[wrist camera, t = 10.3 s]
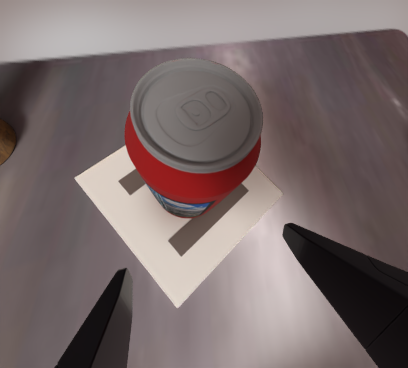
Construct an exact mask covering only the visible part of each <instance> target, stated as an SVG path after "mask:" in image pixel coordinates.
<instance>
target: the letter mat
mask: <svg viewBox="0 0 408 368" xmlns="http://www.w3.org/2000/svg"><path fill="white" fill-rule="evenodd" d="M75 180H76V181H77V182H78V183H79V185H80V186H81V187H82V189H83V190H84V191H85V192H86V194H87V195H88V196H89V197H90V199H91V200H92V201H93V202H94V204H95V205H96V206H97V207H98V209H99V210H100V211H101V213H102V214H103V215H104V216H105V218H106V219H107V220H108V221H109V223H110V224H111V225H112V226H113V228H114V229H115V230H116V231H117V233H118V234H119V235H120V237H121V238H122V239H123V240H124V242H125V243H126V244H127V245H128V247H129V248H130V249H131V250H132V252H133V253H134V254H135V255H136V257H137V258H138V259H139V261H140V262H141V263H142V264H143V266H144V267H145V268H146V269H147V271H148V272H149V273H150V274H151V276H152V277H153V278H154V280H155V281H156V282H157V283H158V285H159V286H160V287H161V288H162V290H163V291H164V292H165V293H166V295H167V296H168V297H169V298H170V300H171V301H172V302H173V304H174V305H175V306H176V307H177V309H178V307H179V306H180V305H181V304H182V303H183V302H184V301H185V300H186V299H187V298H188V297H189V296H190V294H191V293H192V292H193V291H194V290H195V289H196V288H197V287H198V286H199V285H200V284H201V283H202V281H203V280H204V279H205V278H206V277H207V276H208V275H209V274H210V273H211V272H212V271H213V270H214V268H215V267H216V266H217V265H218V264H219V263H220V262H221V261H222V260H223V259H224V258H225V257H226V255H227V254H228V253H229V252H230V251H231V250H232V249H233V248H234V247H235V246H236V245H237V244H238V242H239V241H240V240H241V239H242V238H243V237H244V236H245V235H246V234H247V233H248V232H249V231H250V229H251V228H252V227H253V226H254V225H255V224H256V223H257V222H258V221H259V220H260V219H261V218H262V216H263V215H264V214H265V213H266V212H267V211H268V210H269V209H270V208H271V207H272V206H273V205H274V203H275V202H276V201H277V200H278V199H279V198H280V197H281V196H282V195H283V193H282V192H281V191H280V190H279V189H278V188H277V187H276V186H275V185H274V184H273V183H272V182H271V181H270V180H269V179H268V178H267V177H266V176H265V175H264V174H263V173H262V172H261V171H260V170H259V169H258V168H257V167H256V166H255V167H254V169H253V171H252V172H251V173H250V175H249V176H248V177H247V178H246V179H245V180H244V181H243V182H242V183H241V184H240V185H239V186H238V187H237V188H235V189H234V190H233V191H232V192H231V193H230V194H229V195H228V196H226V197H225V198H224V199H223V200H222V201H221V202H219V203H218V204H217V205H216V206H214V207H213V208H212V209H211V210H209V211H208V212H207V213H205V214H203V215H201V216H199V217H196V218H180V217H176V216H174V215H172V214H170V213H168V212H167V211H166V210H165V209H164V208H163V207H162V206H161V205H160V203H159V202H158V201H157V199H156V198H155V197H154V195H153V194H152V192H151V191H150V189H149V188H148V186H147V185H146V183H145V182H144V180H143V179H142V177H141V176H140V174H139V172H138V171H137V169H136V168H135V166H134V165H133V163H132V161H131V159H130V157H129V155H128V152H127V149H126V145H125V146H124V147H122V148H121V149H119V150H118V151H116V152H114V153H113V154H111V155H110V156H108V157H107V158H105V159H103V160H102V161H100V162H99V163H97V164H96V165H94V166H93V167H91V168H89V169H88V170H86V171H85V172H83V173H82V174H80V175H78V176H77V177H75Z"/></svg>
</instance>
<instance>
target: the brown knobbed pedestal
mask: <svg viewBox="0 0 408 368" xmlns="http://www.w3.org/2000/svg"><path fill="white" fill-rule="evenodd" d="M15 144H16V135H15V132H14V130H13V129H12V127H11V126H10V125H9V124H8V123H6V122H5V121H3V120H2V119H0V165H1V164H2V163H3V162H4V161H5V160H6V159H7V158H8V157H9V156H10V154H11V153H12V151H13V149H14V147H15Z"/></svg>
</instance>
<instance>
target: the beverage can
mask: <svg viewBox="0 0 408 368" xmlns="http://www.w3.org/2000/svg"><path fill="white" fill-rule="evenodd" d="M262 125H263V113H262V108H261V105H260V102H259V99H258V97H257V95H256V94H255V92H254V90H253V89H252V88H251V86H250V85H249V84H248V83H247V82H246V81H245V80H244V79H243V78H242V77H241V76H240V75H238V74H237V73H236V72H234V71H233V70H231V69H229V68H228V67H226V66H224V65H221V64H219V63H216V62H213V61H209V60H205V59H198V58H182V59H175V60H171V61H167V62H164V63H162V64H160V65H158V66H156V67H154V68H153V69H151V70H150V71H148V72H147V73H146V74H145V75H144V76H143V77H142V78H141V79H140V81H139V82H138V83H137V85H136V87H135V89H134V91H133V94H132V97H131V102H130V111H129V114H128V117H127V120H126V125H125V144H126V149H127V152H128V155H129V157H130V159H131V161H132V163H133V165H134V166H135V168H136V169H137V171H138V172H139V174H140V176H141V177H142V179H143V180H144V182H145V183H146V185H147V186H148V188H149V189H150V191H151V192H152V194H153V195H154V197H155V198H156V199H157V201H158V202H159V203H160V205H161V206H162V207H163V208H164V209H165V210H166V211H167V212H168V213H170V214H172V215H174V216H176V217H180V218H196V217H199V216H201V215H203V214H205V213H207V212H208V211H209V210H211V209H212V208H213V207H214V206H216V205H217V204H218V203H219V202H221V201H222V200H223V199H224V198H225V197H226V196H228V195H229V194H230V193H231V192H232V191H233V190H234V189H235V188H237V187H238V186H239V185H240V184H241V183H242V182H243V181H244V180H245V179H246V178H247V177H248V176H249V175H250V173H251V172H252V171H253V169H254V167H255V165H256V163H257V160H258V157H259V153H260V147H261V135H260V134H261V131H262Z"/></svg>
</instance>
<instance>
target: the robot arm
mask: <svg viewBox="0 0 408 368" xmlns="http://www.w3.org/2000/svg"><path fill="white" fill-rule="evenodd" d="M283 238H284V240H285V241H286V243H287V244H288V246H289V248H290V249H291V251H292V252H293V254H294V256H295V257H296V259H297V260H298V262H299V263H300V264H301V266H302V267H303V268H304V270H305V271H306V272H307V274H308V275H309V276H310V278H311V279H312V280H313V282H314V283H315V284H316V286H317V287H318V288H319V289H320V291H321V292H322V293H323V295H324V296H325V297H326V299H327V300H328V301H329V303H330V304H331V305H332V307H333V308H334V309H335V311H336V312H337V313H338V315H339V316H340V317H341V318H342V320H343V321H344V322H345V324H346V325H347V326H348V328H349V329H350V330H351V332H352V333H353V334H354V336H355V337H356V338H357V340H358V341H359V342H360V344H361V345H362V346H363V348H364V349H365V350H366V352H367V353H368V354H369V356H370V357H371V358H372V360H373V361H374V362H375V364H376V365H377V366H378V367H379V368H408V272H406V271H403V270H401V269H398V268H396V267H393V266H391V265H388V264H386V263H384V262H381V261H379V260H376V259H374V258H372V257H370V256H366V255H365V254H363V253H360V252H358V251H356V250H353V249H351V248H349V247H346V246H344V245H342V244H340V243H337V242H335V241H333V240H330V239H328V238H326V237H323V236H321V235H319V234H317V233H314V232H312V231H310V230H307V229H305V228H303V227H300V226H298V225H296V224H294V223H288V224H285V225H284V229H283ZM131 324H132V277H131V275H130V273H129V270H128V269H127V268H123V269H120V270H118V271H117V272H116V274H115V275H114V277H113V278H112V280H111V281H110V283H109V284H108V286H107V287H106V289H105V291H104V292H103V294H102V295H101V297H100V298H99V300H98V301H97V303H96V304H95V306H94V307H93V309H92V311H91V312H90V314H89V315H88V317H87V318H86V320H85V321H84V323H83V324H82V326H81V328H80V329H79V331H78V332H77V334H76V335H75V337H74V338H73V340H72V341H71V343H70V344H69V346H68V348H67V349H66V351H65V352H64V354H63V355H62V357H61V358H60V360H59V361H58V365H56V366H55V367H54V368H127V360H128V351H129V342H130V333H131Z"/></svg>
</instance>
